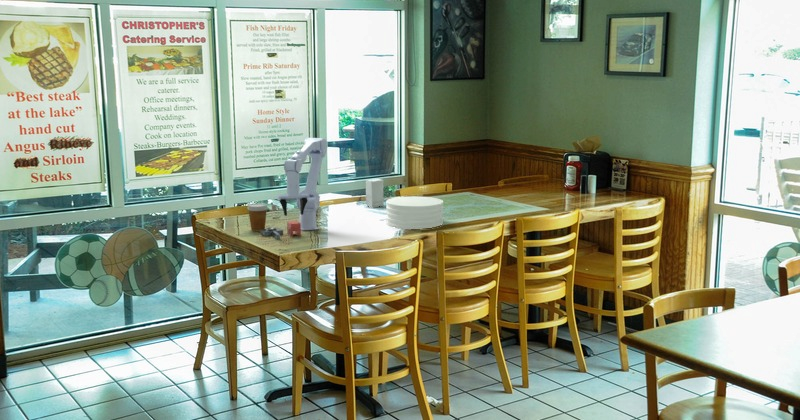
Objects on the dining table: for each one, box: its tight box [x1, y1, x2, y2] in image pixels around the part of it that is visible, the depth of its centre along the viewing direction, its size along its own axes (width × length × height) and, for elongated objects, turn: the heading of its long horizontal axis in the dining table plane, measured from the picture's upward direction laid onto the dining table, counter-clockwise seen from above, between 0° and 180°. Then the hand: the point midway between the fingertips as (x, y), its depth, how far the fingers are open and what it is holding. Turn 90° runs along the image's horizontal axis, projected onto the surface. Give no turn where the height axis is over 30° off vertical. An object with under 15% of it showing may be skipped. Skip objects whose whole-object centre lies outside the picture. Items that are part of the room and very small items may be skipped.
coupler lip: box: [260, 226, 284, 240], centre depth 385 cm, size 15×9×3 cm, turn 22°
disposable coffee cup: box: [246, 202, 268, 232], centre depth 397 cm, size 10×10×12 cm
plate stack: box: [385, 195, 444, 230], centre depth 413 cm, size 28×28×12 cm
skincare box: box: [365, 178, 385, 208], centre depth 458 cm, size 8×6×15 cm
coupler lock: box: [286, 220, 302, 238], centre depth 387 cm, size 7×5×6 cm, turn 22°
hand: (293, 214), depth 386 cm, fingers open, 7 cm apart
